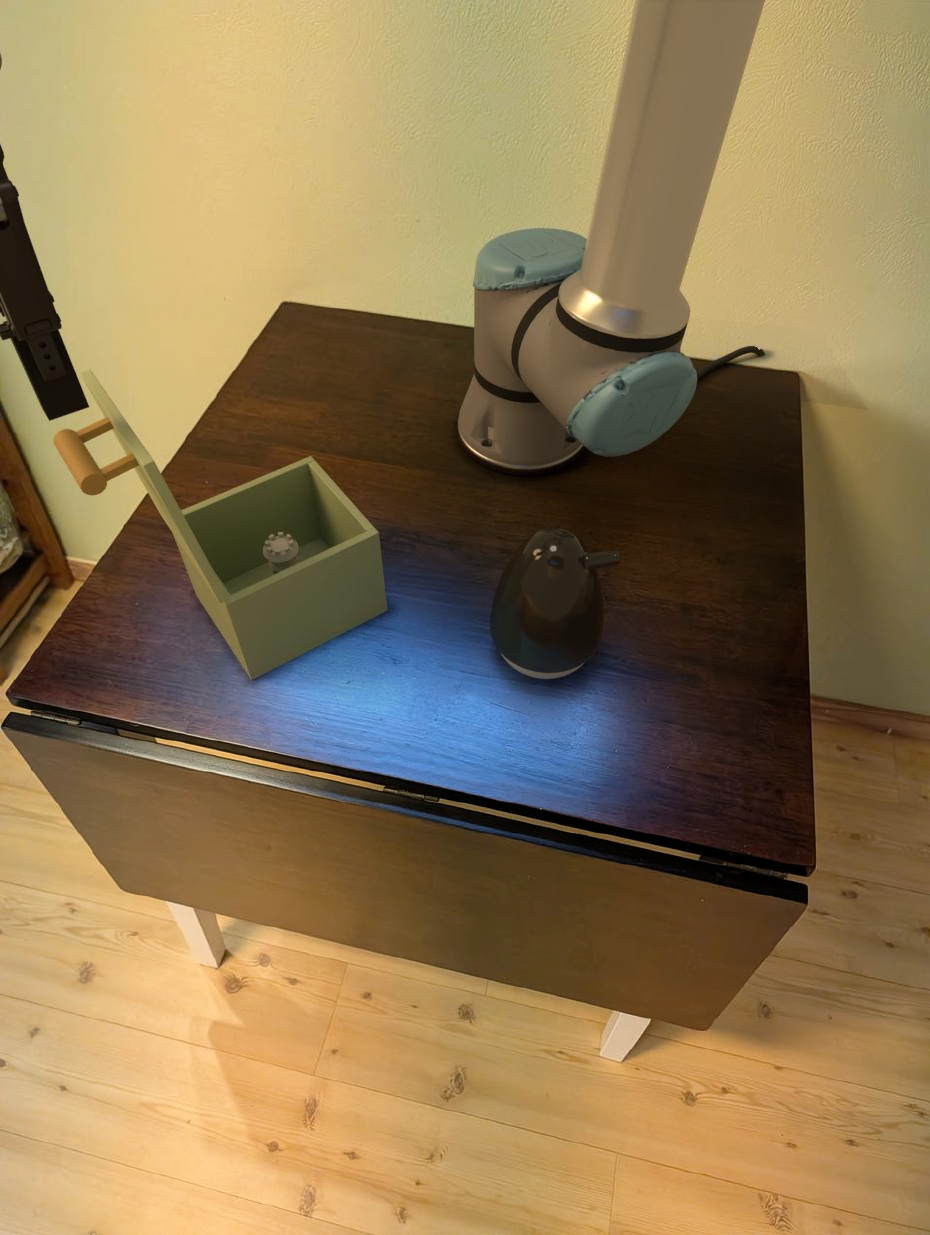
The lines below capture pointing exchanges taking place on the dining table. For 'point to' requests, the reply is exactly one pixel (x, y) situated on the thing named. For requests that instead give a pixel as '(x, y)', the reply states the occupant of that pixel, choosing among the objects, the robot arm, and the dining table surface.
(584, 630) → the pump dispenser
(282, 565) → the rook chess piece
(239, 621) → the chest
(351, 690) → the dining table surface
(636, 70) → the robot arm
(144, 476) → the lid
